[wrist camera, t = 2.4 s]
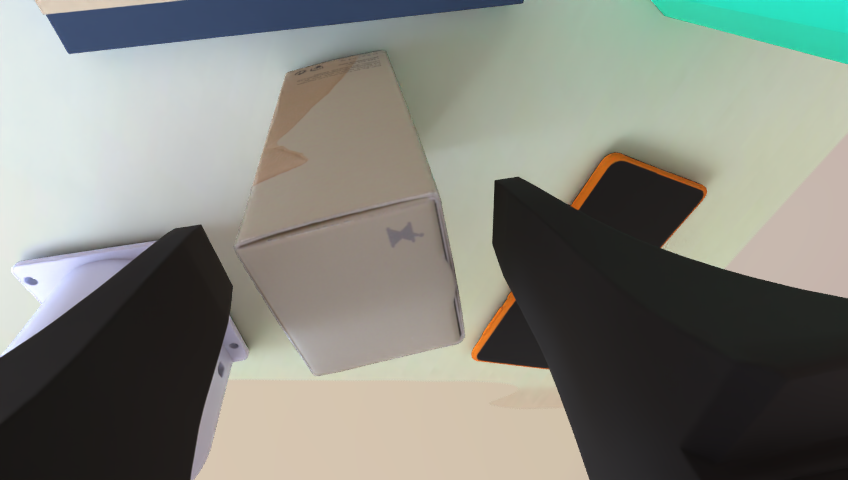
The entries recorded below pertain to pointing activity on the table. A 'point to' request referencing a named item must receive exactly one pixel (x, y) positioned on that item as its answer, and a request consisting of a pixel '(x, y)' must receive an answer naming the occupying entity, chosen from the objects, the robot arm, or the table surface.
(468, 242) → the table surface
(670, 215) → the smartphone
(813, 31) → the candle
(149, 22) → the towel
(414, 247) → the box
